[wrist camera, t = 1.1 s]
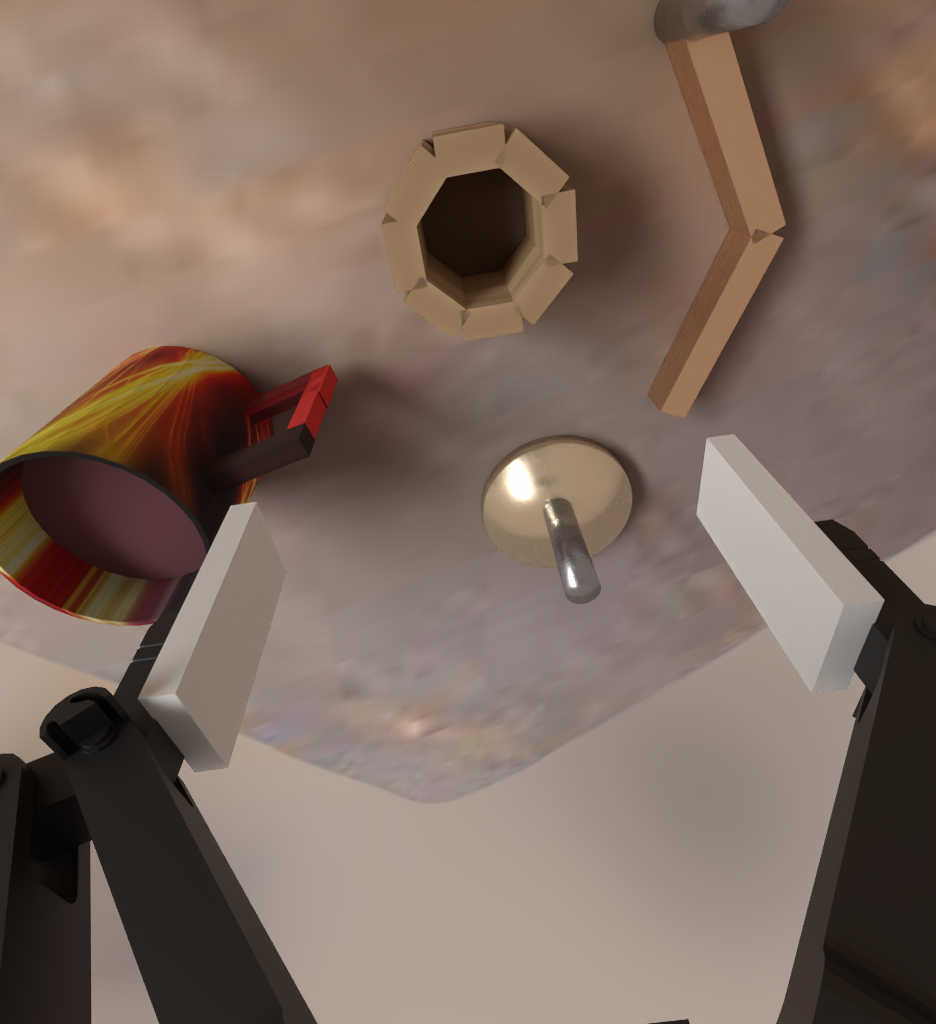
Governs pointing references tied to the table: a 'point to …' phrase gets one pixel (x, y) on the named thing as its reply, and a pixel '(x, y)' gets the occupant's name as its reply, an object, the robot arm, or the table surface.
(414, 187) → the oak ring
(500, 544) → the peg stand
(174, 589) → the mug
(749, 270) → the bent hammer
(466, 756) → the table surface
